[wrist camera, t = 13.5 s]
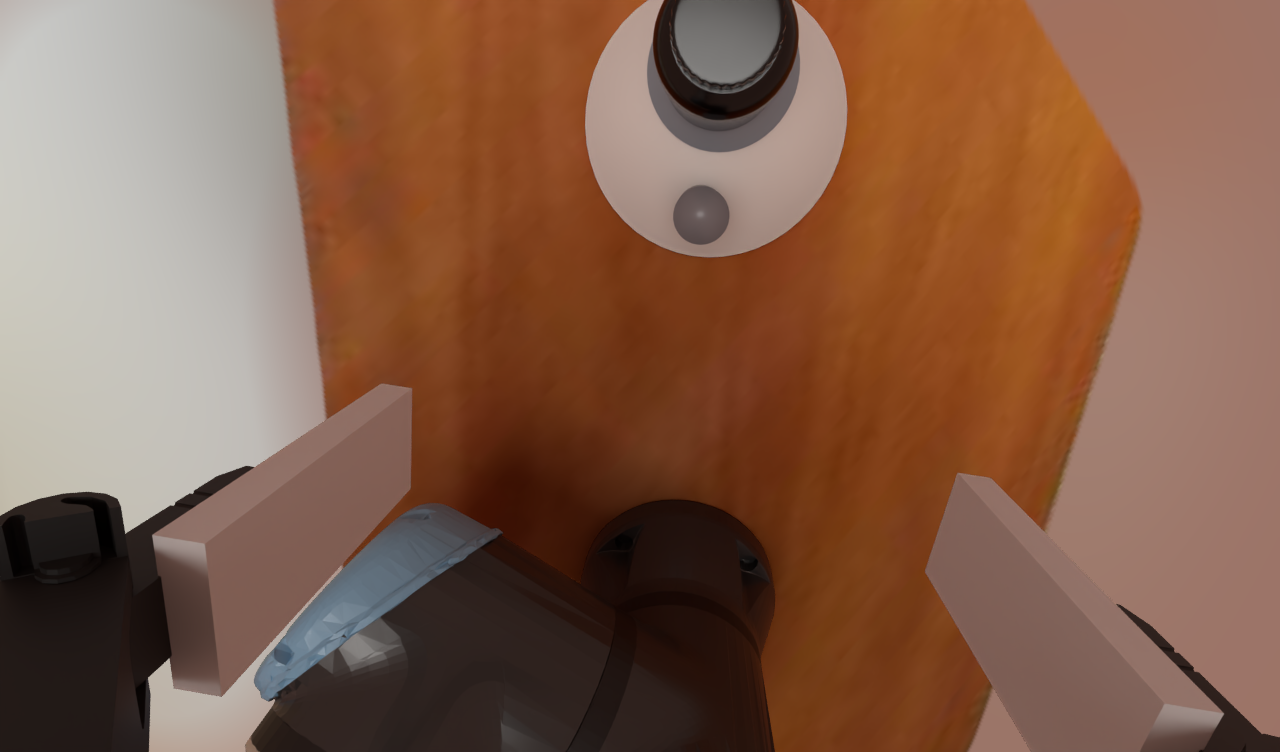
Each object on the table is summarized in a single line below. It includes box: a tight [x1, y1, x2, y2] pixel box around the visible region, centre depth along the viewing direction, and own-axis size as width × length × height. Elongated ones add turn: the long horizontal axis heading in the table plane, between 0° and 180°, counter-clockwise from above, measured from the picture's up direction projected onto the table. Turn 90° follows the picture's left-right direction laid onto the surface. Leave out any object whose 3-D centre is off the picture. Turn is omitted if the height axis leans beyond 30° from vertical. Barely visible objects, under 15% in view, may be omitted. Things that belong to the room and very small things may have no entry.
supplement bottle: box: [653, 0, 799, 131], centre depth 31 cm, size 7×7×12 cm
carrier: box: [585, 0, 847, 257], centre depth 35 cm, size 16×16×8 cm
